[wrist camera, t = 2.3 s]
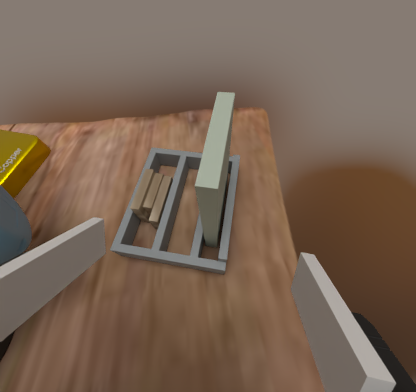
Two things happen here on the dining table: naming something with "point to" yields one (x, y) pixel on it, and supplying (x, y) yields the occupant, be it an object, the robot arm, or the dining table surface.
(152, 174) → the pine offcut stack
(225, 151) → the sage hardboard sheet
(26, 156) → the element tile
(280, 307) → the dining table surface
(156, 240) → the offcut rack
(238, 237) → the dining table surface
